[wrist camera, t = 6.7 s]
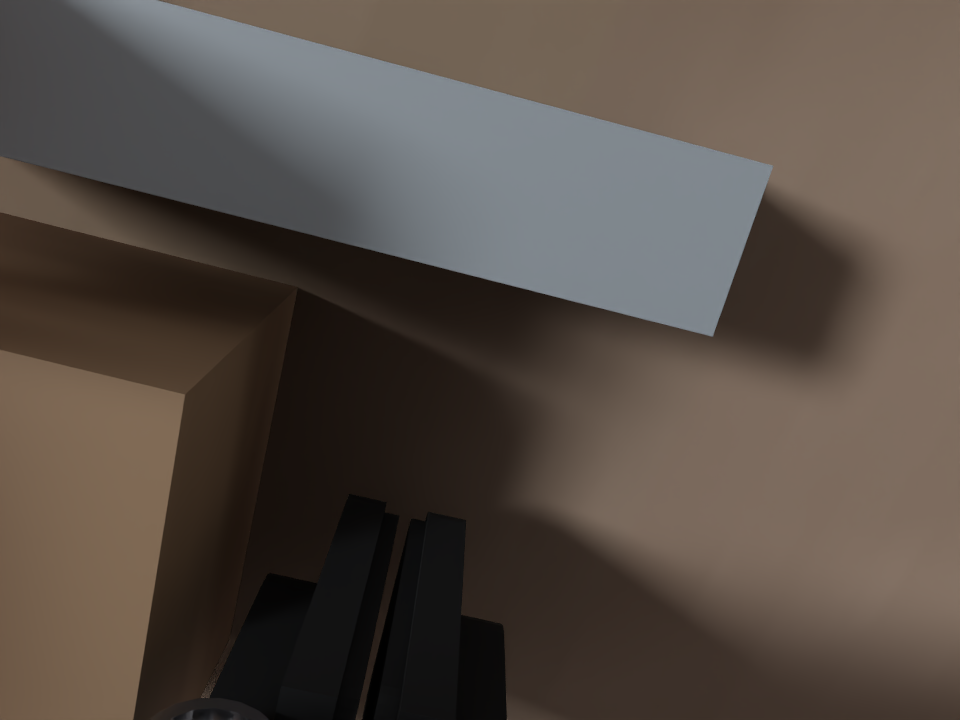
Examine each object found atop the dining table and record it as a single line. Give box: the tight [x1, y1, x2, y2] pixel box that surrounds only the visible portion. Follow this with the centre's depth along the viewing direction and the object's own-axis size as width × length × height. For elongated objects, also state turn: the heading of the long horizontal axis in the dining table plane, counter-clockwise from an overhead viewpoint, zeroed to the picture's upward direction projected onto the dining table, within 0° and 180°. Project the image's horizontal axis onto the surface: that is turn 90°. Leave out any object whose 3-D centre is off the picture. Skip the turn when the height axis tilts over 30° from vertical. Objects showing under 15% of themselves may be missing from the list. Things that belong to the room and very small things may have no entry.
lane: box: [0, 0, 773, 337], centre depth 9 cm, size 10×14×8 cm
